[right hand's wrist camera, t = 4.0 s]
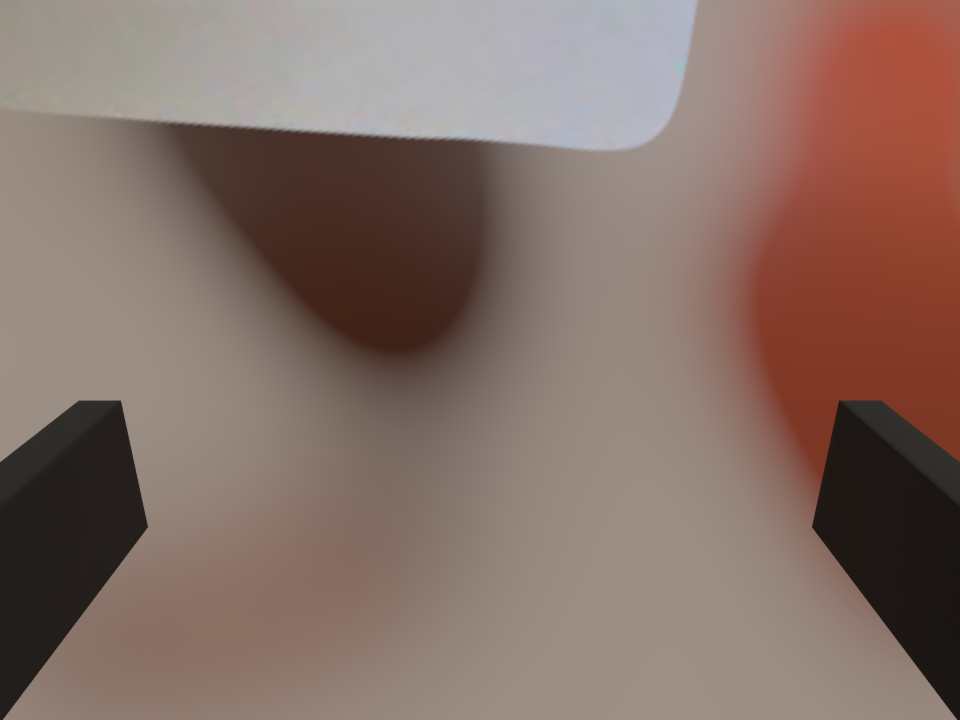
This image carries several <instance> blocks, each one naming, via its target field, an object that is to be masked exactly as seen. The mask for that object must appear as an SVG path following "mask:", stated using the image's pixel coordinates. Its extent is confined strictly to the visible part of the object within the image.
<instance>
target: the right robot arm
mask: <svg viewBox="0 0 960 720" xmlns="http://www.w3.org/2000/svg"><path fill="white" fill-rule="evenodd" d="M147 528H148V525H147V521H146V516H145V511H144V507H143V502H142V497H141V492H140V488H139V483H138V478H137V474H136V469H135V464H134V460H133V455H132V450H131V446H130V441H129V436H128V432H127V427H126V422H125V418H124V413H123V408H122V404H121V401H78V402H77V403H75V404H74V405H73V406H71V407H70V408H69V409H68V410H66V411H65V412H64V413H63V414H61V415H60V416H59V417H57V418H56V419H55V420H54V421H52V422H51V423H50V424H48V425H47V426H46V427H45V428H43V429H42V430H41V431H40V432H38V433H37V434H36V435H34V436H33V437H32V438H31V439H29V440H28V441H27V442H26V443H24V444H23V445H22V446H20V447H19V448H18V449H17V450H15V451H14V452H13V453H11V454H10V455H9V456H8V457H6V458H5V459H4V460H3V461H1V462H0V720H3V719H4V717H5V716H6V715H7V713H8V712H9V711H10V709H11V708H12V707H13V705H14V704H15V703H16V702H17V700H18V699H19V698H20V696H21V695H22V694H23V692H24V691H25V690H26V688H27V687H28V686H29V684H30V683H31V682H32V680H33V679H34V678H35V676H36V675H37V674H38V672H39V671H40V670H41V668H42V667H43V666H44V664H45V663H46V662H47V660H48V659H49V658H50V656H51V655H52V654H53V652H54V651H55V650H56V648H57V647H58V646H59V644H60V643H61V642H62V641H63V639H64V638H65V636H66V635H67V634H68V633H69V631H70V630H71V629H72V627H73V626H74V625H75V623H76V622H77V621H78V619H79V618H80V617H81V615H82V614H83V613H84V611H85V610H86V609H87V607H88V606H89V605H90V603H91V602H92V601H93V599H94V598H95V597H96V595H97V594H98V593H99V591H100V590H101V589H102V587H103V586H104V585H105V583H106V582H107V581H108V579H109V578H110V577H111V575H112V574H113V573H114V572H115V570H116V569H117V568H118V566H119V565H120V563H121V562H122V561H123V560H124V558H125V557H126V555H127V554H128V553H129V552H130V550H131V549H132V548H133V546H134V545H135V544H136V542H137V541H138V540H139V538H140V537H141V536H142V534H143V533H144V532H145V530H146V529H147ZM812 528H813V529H814V530H815V532H816V533H817V534H818V536H819V537H820V538H821V540H822V541H823V542H824V544H825V545H826V546H827V548H828V549H829V550H830V552H831V553H832V554H833V556H834V557H835V558H836V560H837V561H838V562H839V563H840V565H841V566H842V567H843V569H844V570H845V571H846V573H847V574H848V575H849V577H850V578H851V579H852V581H853V582H854V583H855V585H856V586H857V587H858V589H859V590H860V591H861V593H862V594H863V595H864V597H865V598H866V599H867V601H868V602H869V603H870V605H871V606H872V607H873V609H874V610H875V611H876V613H877V614H878V615H879V616H880V618H881V619H882V621H883V622H884V623H885V625H886V626H887V627H888V629H889V630H890V631H891V632H892V634H893V635H894V636H895V638H896V639H897V641H898V642H899V643H900V644H901V646H902V647H903V648H904V650H905V651H906V652H907V654H908V655H909V656H910V658H911V659H912V660H913V662H914V663H915V664H916V666H917V667H918V668H919V670H920V671H921V672H922V674H923V675H924V676H925V678H926V679H927V680H928V682H929V683H930V684H931V686H932V687H933V688H934V690H935V691H936V692H937V694H938V695H939V696H940V698H941V699H942V700H943V702H944V703H945V704H946V706H947V707H948V708H949V710H950V711H951V712H952V713H953V715H954V716H955V717H956V719H957V720H960V462H959V461H957V460H956V459H955V458H954V457H952V456H951V455H950V454H949V453H947V452H946V451H945V450H943V449H942V448H941V447H940V446H938V445H937V444H936V443H935V442H933V441H932V440H931V439H929V438H928V437H927V436H926V435H924V434H923V433H922V432H920V431H919V430H918V429H917V428H915V427H914V426H913V425H912V424H910V423H909V422H908V421H906V420H905V419H904V418H903V417H901V416H900V415H899V414H897V413H896V412H895V411H894V410H892V409H891V408H890V407H888V406H887V405H886V404H885V403H883V402H882V401H839V404H838V409H837V413H836V418H835V422H834V427H833V432H832V436H831V441H830V446H829V450H828V455H827V460H826V465H825V469H824V474H823V478H822V483H821V488H820V492H819V497H818V502H817V506H816V511H815V516H814V520H813V525H812Z"/></svg>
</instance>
